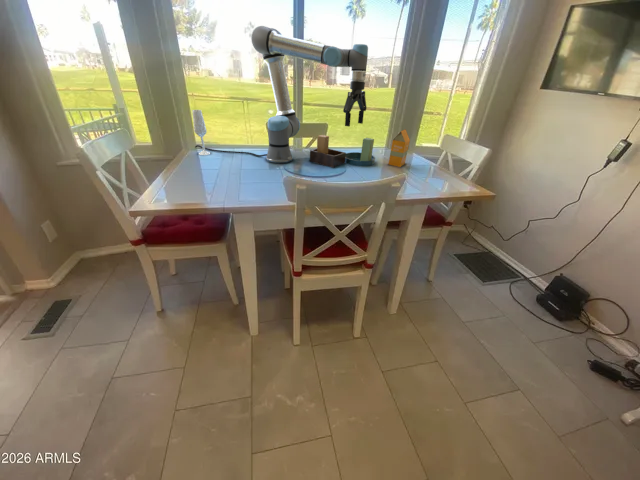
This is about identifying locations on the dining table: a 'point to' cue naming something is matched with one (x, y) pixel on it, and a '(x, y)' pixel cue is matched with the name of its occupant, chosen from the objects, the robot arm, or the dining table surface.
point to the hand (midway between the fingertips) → (354, 124)
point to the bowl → (358, 159)
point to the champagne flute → (199, 128)
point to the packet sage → (367, 149)
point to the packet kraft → (323, 144)
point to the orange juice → (399, 149)
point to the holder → (328, 157)
